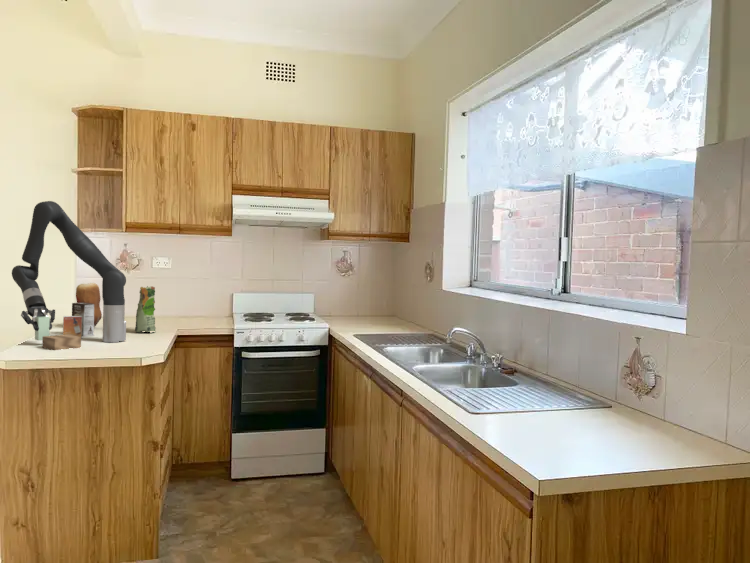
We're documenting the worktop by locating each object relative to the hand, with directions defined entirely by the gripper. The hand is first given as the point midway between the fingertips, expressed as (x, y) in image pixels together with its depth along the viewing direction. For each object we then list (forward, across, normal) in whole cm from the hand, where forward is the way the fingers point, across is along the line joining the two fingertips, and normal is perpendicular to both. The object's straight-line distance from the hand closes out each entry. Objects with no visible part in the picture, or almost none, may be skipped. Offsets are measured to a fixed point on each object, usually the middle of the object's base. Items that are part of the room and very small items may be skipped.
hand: (43, 329), depth 257 cm
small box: (-7, +19, +18) cm, 27 cm away
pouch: (-7, +56, +18) cm, 59 cm away
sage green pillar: (+2, 0, +5) cm, 5 cm away
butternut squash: (-31, +40, +42) cm, 65 cm away
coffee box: (-13, +27, +24) cm, 38 cm away
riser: (+12, +4, -2) cm, 13 cm away
